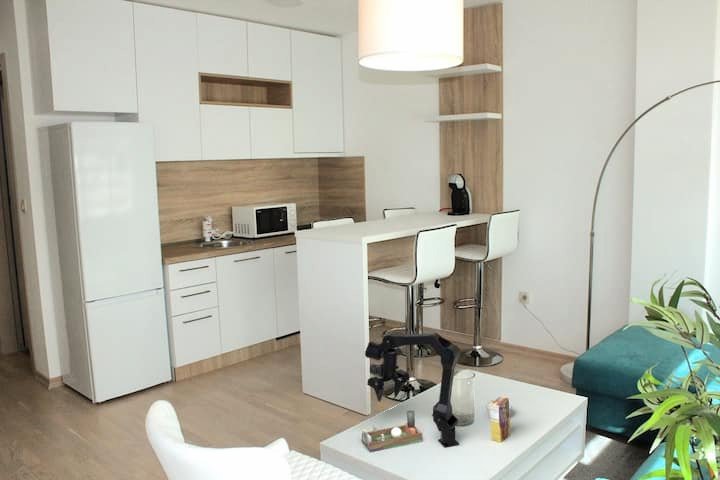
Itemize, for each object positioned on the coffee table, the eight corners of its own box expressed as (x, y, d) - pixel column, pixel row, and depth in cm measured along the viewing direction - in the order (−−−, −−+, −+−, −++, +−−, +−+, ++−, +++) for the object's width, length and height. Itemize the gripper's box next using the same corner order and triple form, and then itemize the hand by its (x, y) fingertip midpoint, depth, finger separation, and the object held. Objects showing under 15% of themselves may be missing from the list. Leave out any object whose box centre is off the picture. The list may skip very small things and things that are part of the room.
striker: (418, 437, 242) (417, 414, 240) (411, 439, 241) (410, 416, 240) (411, 430, 248) (410, 408, 247) (404, 431, 247) (403, 409, 246)
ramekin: (508, 410, 267) (508, 399, 266) (515, 421, 256) (515, 409, 255) (483, 412, 267) (482, 400, 266) (489, 422, 256) (488, 410, 255)
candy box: (500, 432, 246) (500, 396, 244) (510, 434, 243) (509, 398, 241) (490, 440, 239) (489, 403, 237) (500, 443, 237) (499, 405, 235)
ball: (403, 439, 241) (403, 429, 241) (393, 441, 240) (393, 431, 239) (399, 435, 245) (399, 424, 245) (389, 437, 244) (389, 426, 243)
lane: (422, 441, 241) (421, 427, 240) (370, 452, 234) (369, 437, 233) (412, 431, 250) (412, 417, 249) (362, 441, 243) (361, 427, 243)
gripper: (393, 352, 259) (390, 386, 261) (359, 360, 247) (357, 396, 249) (411, 360, 250) (408, 396, 253) (377, 370, 238) (375, 407, 241)
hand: (387, 398), depth 249 cm, fingers open, 9 cm apart
